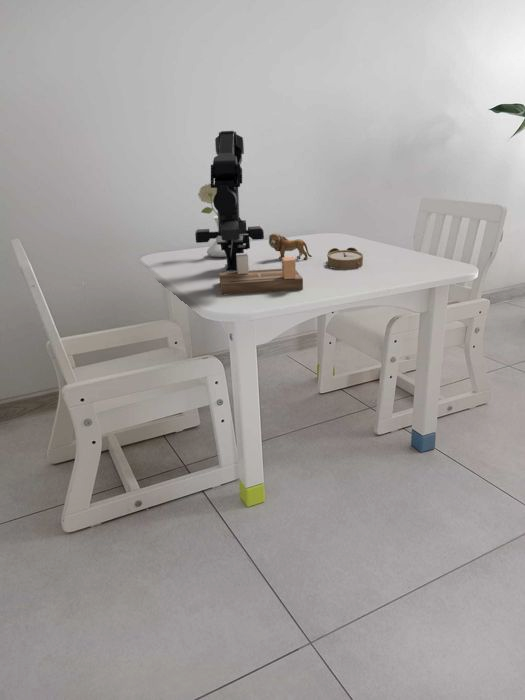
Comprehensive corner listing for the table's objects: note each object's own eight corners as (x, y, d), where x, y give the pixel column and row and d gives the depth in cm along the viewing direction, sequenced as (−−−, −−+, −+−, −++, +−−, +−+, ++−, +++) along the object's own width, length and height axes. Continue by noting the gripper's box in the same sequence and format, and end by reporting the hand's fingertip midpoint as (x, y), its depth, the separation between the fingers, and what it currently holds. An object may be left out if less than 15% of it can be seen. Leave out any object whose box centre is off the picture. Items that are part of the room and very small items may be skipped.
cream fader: (237, 270, 147) (236, 253, 145) (247, 270, 147) (246, 252, 145) (238, 274, 143) (237, 256, 141) (248, 273, 144) (247, 255, 142)
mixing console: (220, 282, 148) (219, 272, 146) (294, 277, 150) (294, 267, 149) (222, 294, 136) (221, 283, 134) (302, 289, 138) (302, 278, 137)
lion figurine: (269, 261, 171) (268, 234, 168) (269, 258, 176) (268, 232, 173) (312, 259, 171) (312, 233, 168) (311, 256, 176) (311, 230, 173)
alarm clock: (329, 261, 156) (324, 243, 169) (329, 276, 159) (324, 257, 171) (366, 259, 156) (358, 242, 169) (365, 274, 159) (357, 256, 171)
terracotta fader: (282, 275, 140) (281, 257, 138) (292, 274, 140) (292, 256, 138) (284, 279, 136) (284, 260, 134) (295, 278, 136) (295, 260, 135)
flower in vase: (241, 252, 186) (237, 181, 177) (235, 259, 176) (230, 184, 166) (206, 252, 188) (201, 182, 179) (198, 259, 178) (192, 185, 168)
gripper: (193, 214, 130) (198, 273, 136) (265, 210, 132) (267, 269, 138) (193, 208, 140) (198, 264, 146) (260, 205, 142) (262, 260, 148)
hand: (231, 264), depth 144 cm, fingers closed
